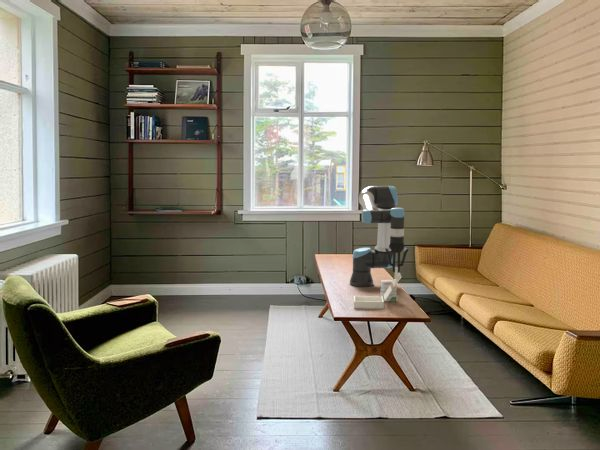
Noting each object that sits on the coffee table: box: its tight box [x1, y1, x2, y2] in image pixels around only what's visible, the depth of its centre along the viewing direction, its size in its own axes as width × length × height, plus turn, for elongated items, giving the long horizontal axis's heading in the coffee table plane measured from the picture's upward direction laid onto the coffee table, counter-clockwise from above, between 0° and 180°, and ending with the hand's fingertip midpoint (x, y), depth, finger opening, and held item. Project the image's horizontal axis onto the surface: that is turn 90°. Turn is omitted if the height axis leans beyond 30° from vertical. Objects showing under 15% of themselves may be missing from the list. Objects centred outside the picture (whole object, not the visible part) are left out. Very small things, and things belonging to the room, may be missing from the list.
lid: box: [383, 271, 402, 302], centre depth 346 cm, size 12×16×1 cm
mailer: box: [353, 295, 385, 310], centre depth 348 cm, size 12×16×4 cm
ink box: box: [379, 279, 398, 303], centre depth 360 cm, size 8×5×12 cm, turn 101°
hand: (396, 278), depth 346 cm, fingers closed
